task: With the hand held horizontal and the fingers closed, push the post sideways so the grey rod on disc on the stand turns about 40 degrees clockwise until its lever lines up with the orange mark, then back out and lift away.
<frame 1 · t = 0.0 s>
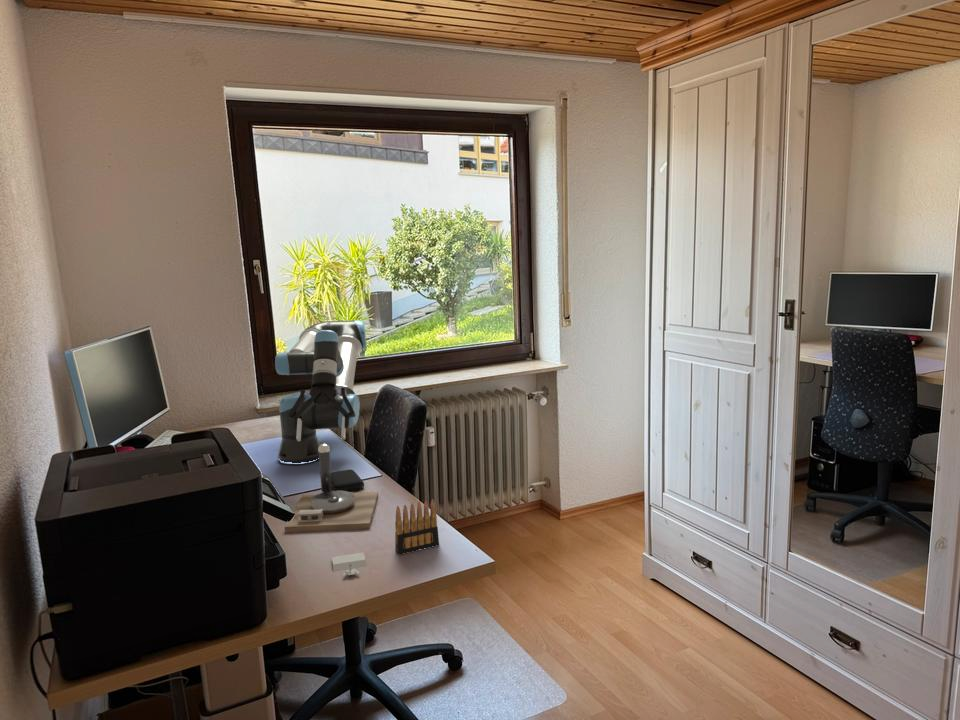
hand: (320, 439, 199), 15 cm above the table, tool tilted 35°, fingers open, 13 cm apart
white sign holder: (350, 572, 149), on the table
grey rod on disc: (329, 476, 182), point 10 cm above the table, hinge at 0.0°
carrying case or bag: (343, 486, 203), on the table
level stand: (334, 513, 181), on the table
ammunition clip: (417, 549, 159), on the table
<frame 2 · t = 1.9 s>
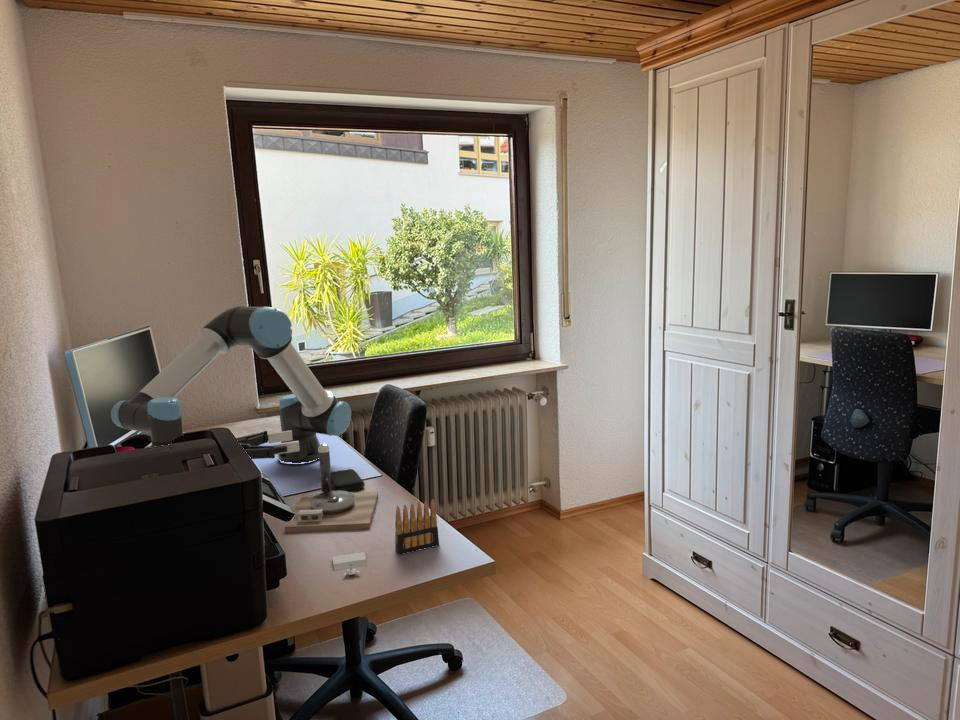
hand: (295, 440, 181), 20 cm above the table, tool horizontal, fingers open, 11 cm apart
nothing on the table moved.
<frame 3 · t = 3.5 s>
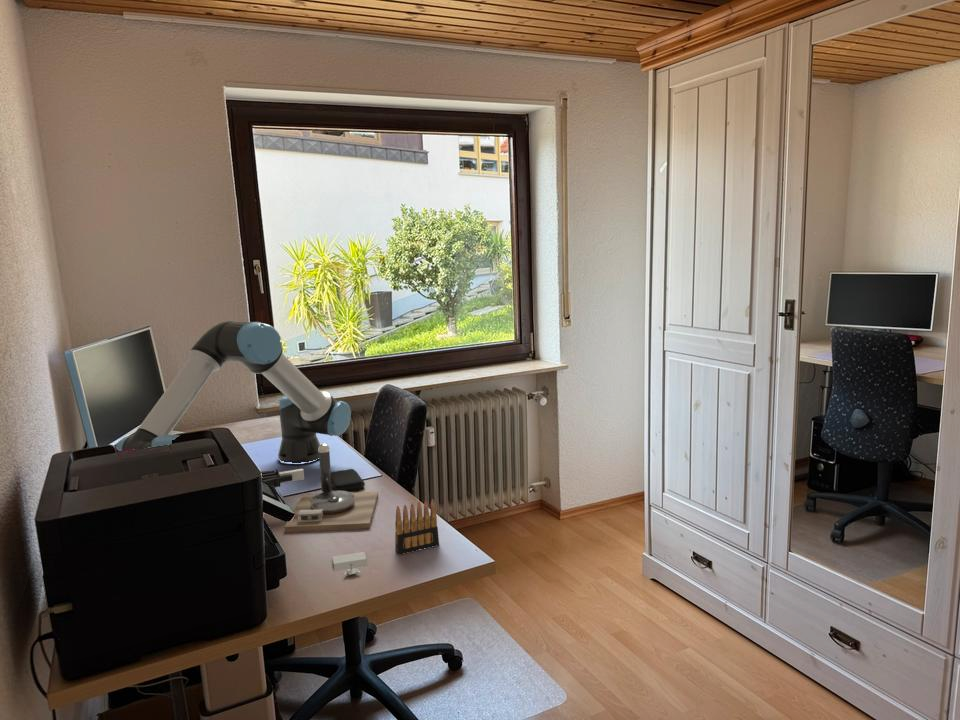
hand: (303, 473, 184), 10 cm above the table, tool horizontal, fingers closed
nothing on the table moved.
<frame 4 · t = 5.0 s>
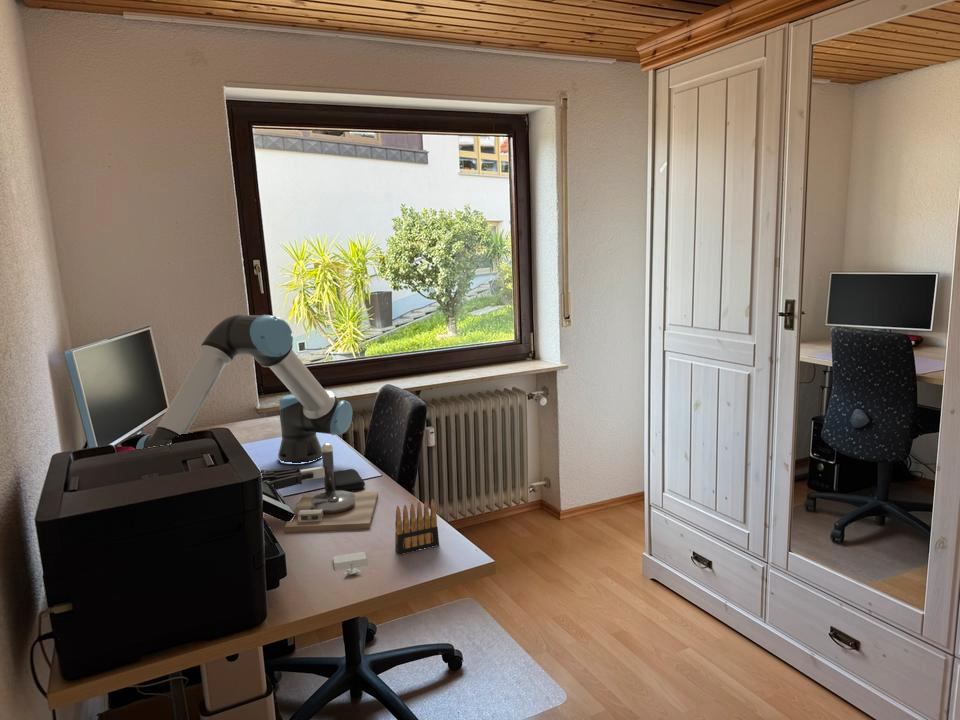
hand: (324, 471, 186), 10 cm above the table, tool horizontal, fingers closed
grey rod on disc: (331, 476, 182), point 10 cm above the table, hinge at -5.9°, touching gripper
everything else where it was.
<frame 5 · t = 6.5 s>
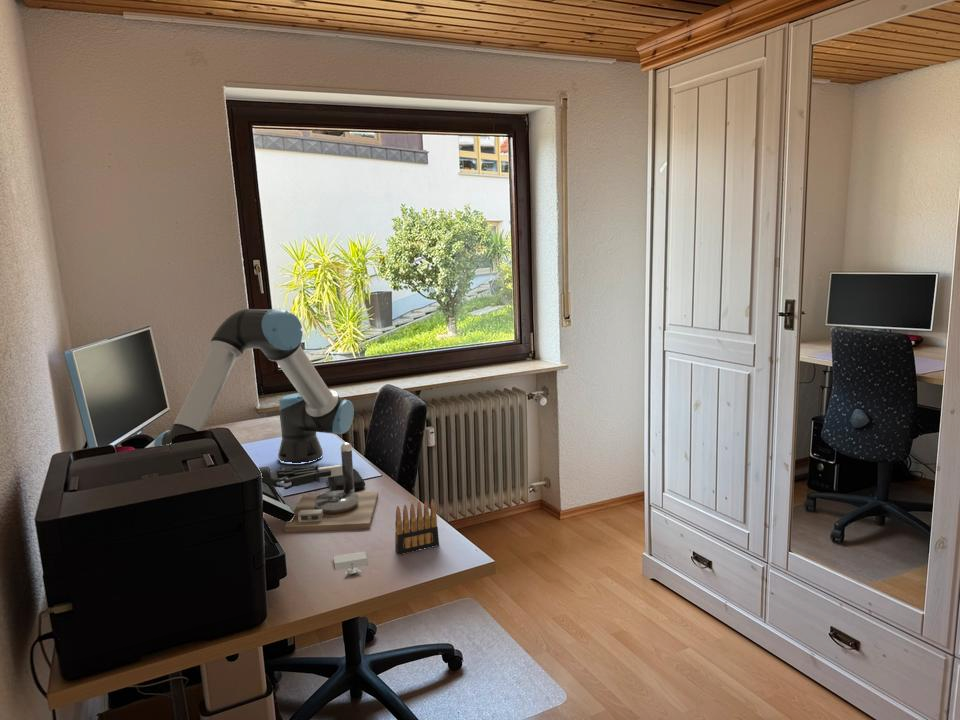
hand: (341, 469, 187), 10 cm above the table, tool horizontal, fingers closed
grey rod on disc: (337, 476, 182), point 10 cm above the table, hinge at -41.2°, touching gripper
everything else where it was.
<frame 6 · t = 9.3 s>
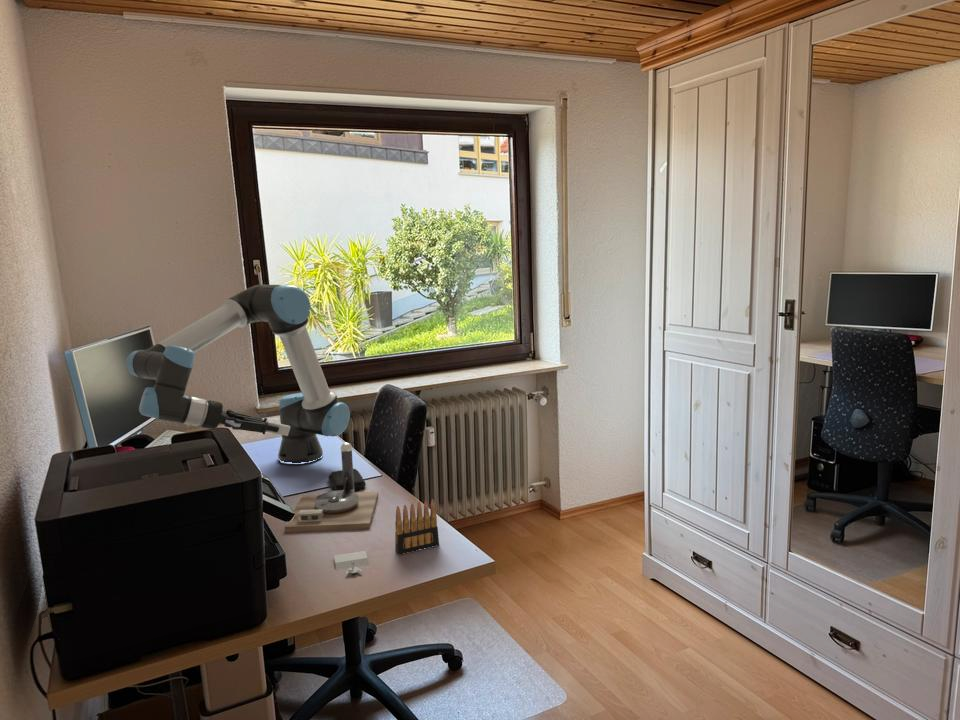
hand: (288, 430, 187), 21 cm above the table, tool tilted 70°, fingers closed
grey rod on disc: (337, 476, 182), point 10 cm above the table, hinge at -41.4°
everything else where it was.
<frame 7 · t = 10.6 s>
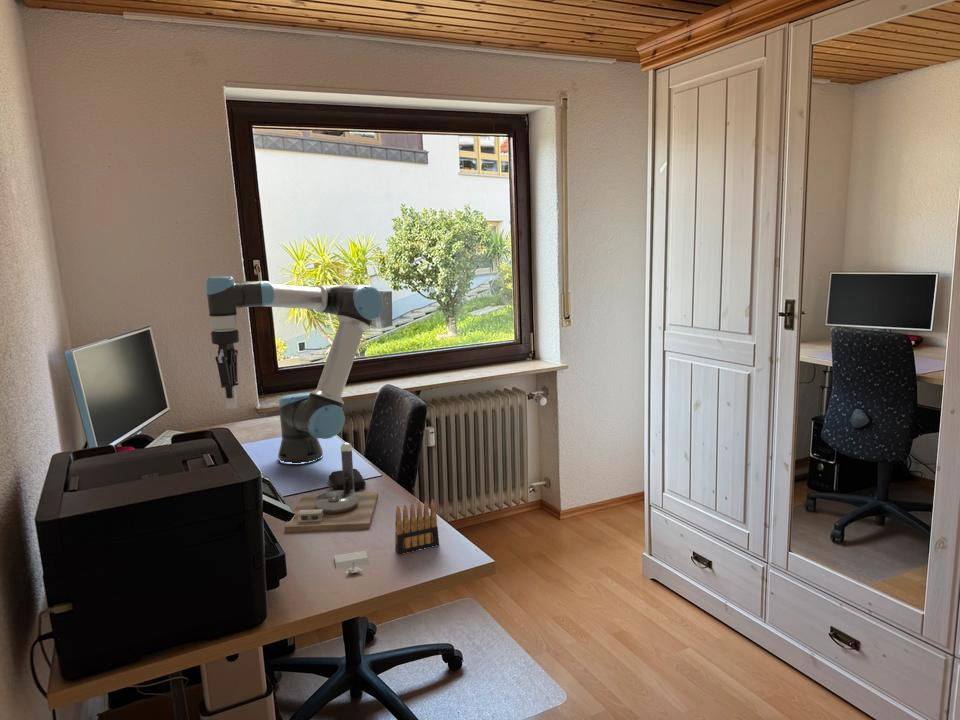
hand: (232, 407, 194), 26 cm above the table, tool pointing down, fingers closed
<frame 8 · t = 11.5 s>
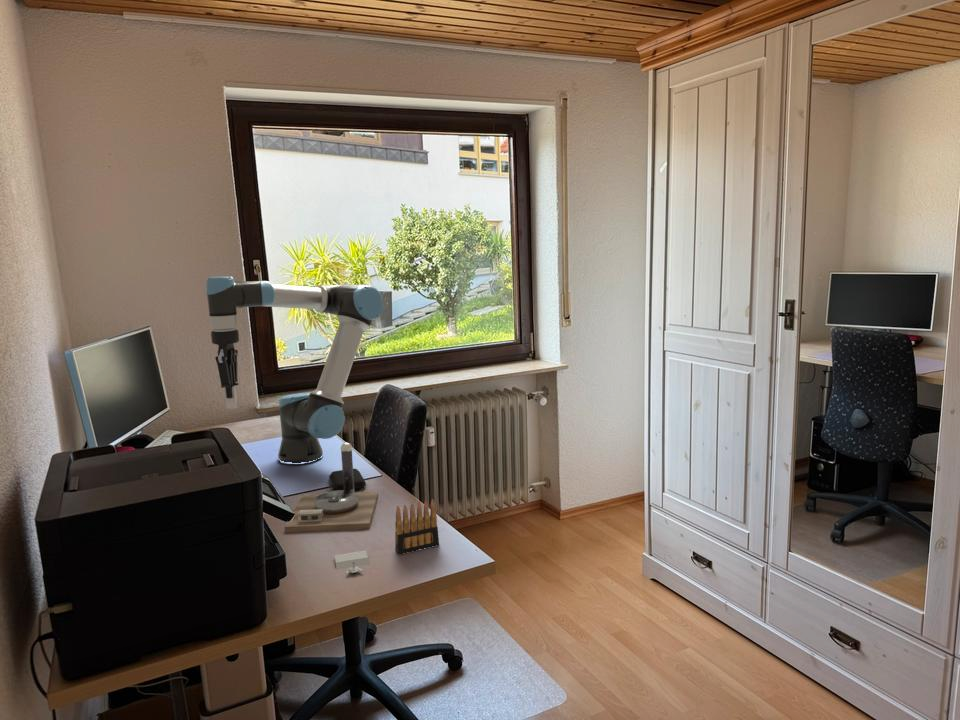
hand: (232, 407, 194), 26 cm above the table, tool pointing down, fingers closed
at the end: grey rod on disc at -41° (first picture: +0°) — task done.
